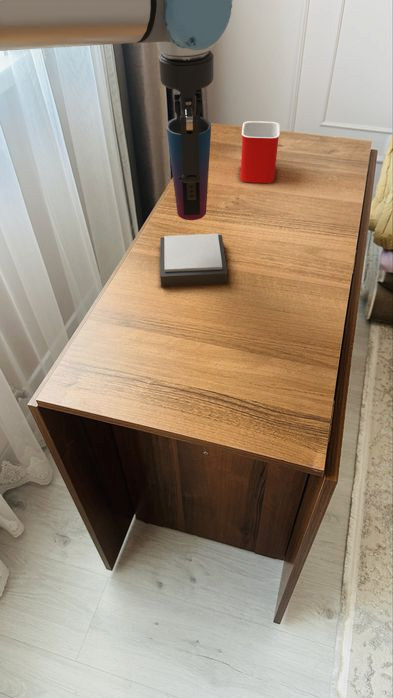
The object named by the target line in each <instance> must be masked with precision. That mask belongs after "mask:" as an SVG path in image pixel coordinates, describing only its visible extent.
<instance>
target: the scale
mask: <svg viewBox="0 0 393 698" xmlns="http://www.w3.org/2000/svg"><path fill="white" fill-rule="evenodd" d="M159 242H160V251H159V252H160V255H159V257H160V259H159V260H160V262H159V266H160V267H159V268H160V269H159V272H160V273H159V274H160V275H159V278H160V287H161V288H164V287H185V286H187V287H189V286H205V285H207V286H208V285H227V284H228V269H227V260H226V255H225V246H224V240H223V234H219V233H198V234H196V233H195V234H178V235H177V234H176V235H164V237H163V236H162V237H160V241H159Z"/></svg>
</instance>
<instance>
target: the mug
mask: <svg viewBox="0 0 393 698" xmlns="http://www.w3.org/2000/svg"><path fill="white" fill-rule="evenodd" d="M280 134H281V124H280V123H279V122H276V121H264V120H263V121H258V120H248V121H247V120H246V121H244V122H243V123H242V127H241V154H240V155H241V156H240V157H241V158H240V174H239V175H240V176H239V177H240V180H241V182H244V183H254V184H255V183H257V184H270V183H273V182H274V181H275V175H276V165H277V158H278V157H277V156H278V146H279V138H280V136H281V135H280Z"/></svg>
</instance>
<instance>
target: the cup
mask: <svg viewBox="0 0 393 698" xmlns="http://www.w3.org/2000/svg"><path fill="white" fill-rule="evenodd" d="M200 122H201V130H200V132H198V139H199V174H200V215H184V207H183V186H182V181H178V176H182V175H183V165H182V143H181V134H180V133H179V132H178V130H177V117H175V118H172V119H170V120H169V121H168V122H167V123H166V128H165V129H166V134H167V142H168V143H167V144H168V151H169V157H170V166H171V173H172V181H173V189H174V197H175V198H174V199H175V205H176V213H177V216H178V217H179V218H181V219H182V220H185V221H197V220H200V219H203V218H204V217H205V216H206V214H207V206H208V205H207V204H208V188H209V171H210V156H211V155H210V153H211V138H212V137H211V134H212V123H211V121H210V120H209V119H207V118H205V117H202V116H200Z"/></svg>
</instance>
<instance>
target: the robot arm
mask: <svg viewBox="0 0 393 698" xmlns="http://www.w3.org/2000/svg"><path fill="white" fill-rule="evenodd" d="M232 9H233V0H0V52H3V51H4V52H5V51H6V52H7V51H22V50H24V51H25V50H39V49H53V48H69V47H70V48H71V47H87V46H88V47H89V46H104V45H121V44H122V45H123V44H147V43H157V50H158V51H159V52H160V54H159V55H158V66H159V79H160V82H161V84H162V85H163V86H164V87H165V88H167V89H170V90H176V91H178V92H174V93H173V101H174V102H173V103H174V113H175V114H176V118H177V130H178V132H179V133H180V134H181V143H182V165H183V175H182V176H178V181H182V186H183V207H184V215H200V174H199V139H198V132H200V130H201V122H200V117H201V113H202V112H203V100H202V95H201V92H200V91H198V90H200V89H204V88H207V87H208V86H210V85H211V84H212V83H213V82H214V81H213V80H214V53H213V51H212V49H213V47H214V45H215V43H217V42H218V41H219V40H220V38H221V37H222V36H223V34H224V33H225V31H226V30H227V27H228V25H229V22H230V20H231V15H232Z"/></svg>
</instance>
